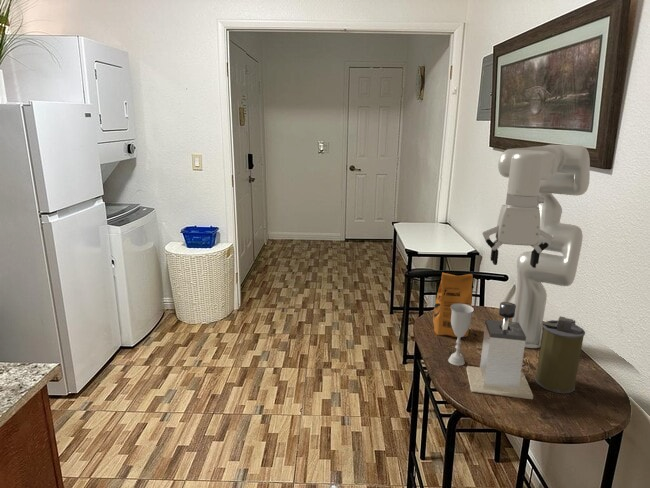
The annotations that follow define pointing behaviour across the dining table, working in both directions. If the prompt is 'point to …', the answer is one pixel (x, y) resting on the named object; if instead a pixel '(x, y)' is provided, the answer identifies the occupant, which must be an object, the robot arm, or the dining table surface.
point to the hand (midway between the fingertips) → (513, 264)
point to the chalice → (459, 328)
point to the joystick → (501, 362)
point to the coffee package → (451, 301)
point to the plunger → (506, 313)
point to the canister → (559, 355)
